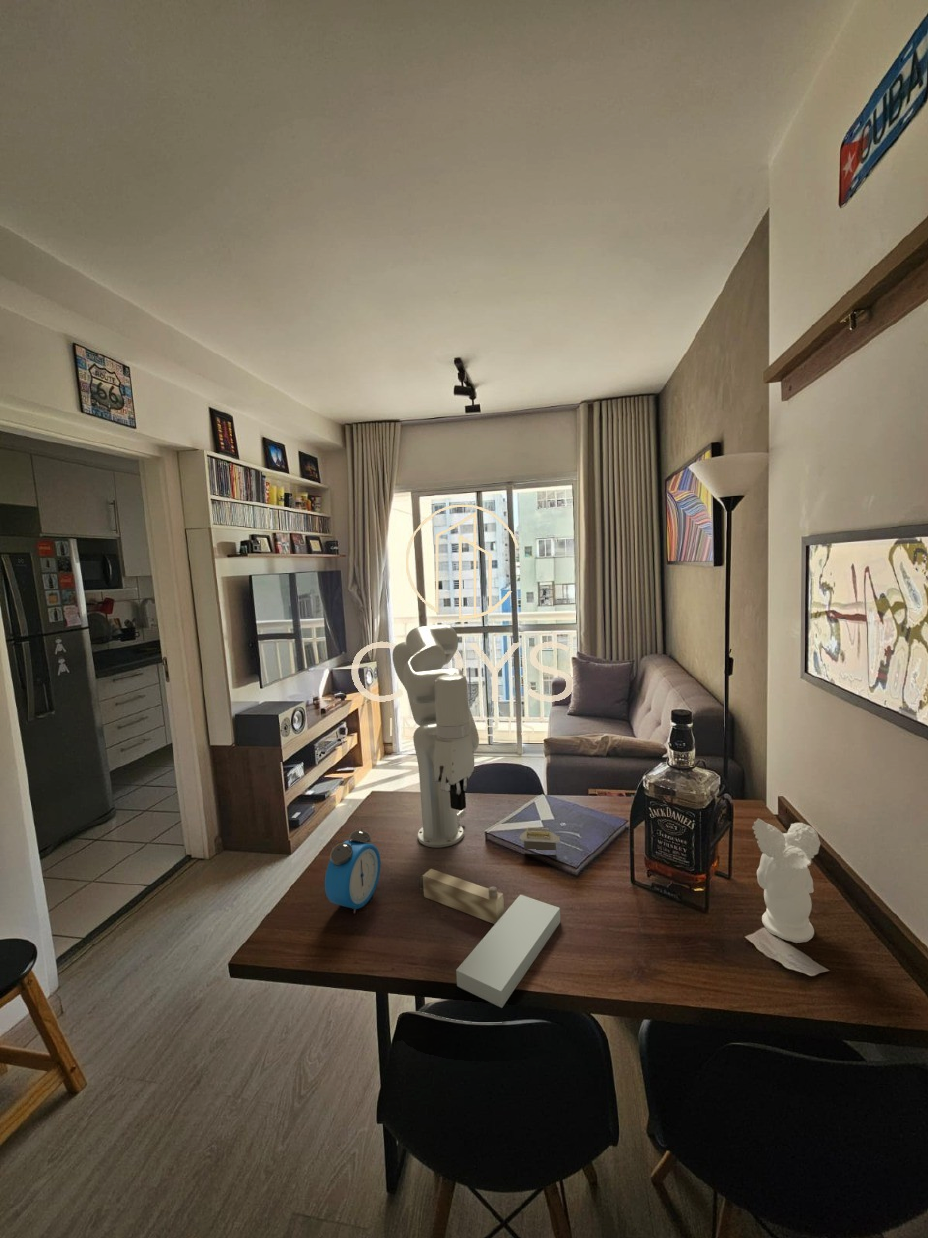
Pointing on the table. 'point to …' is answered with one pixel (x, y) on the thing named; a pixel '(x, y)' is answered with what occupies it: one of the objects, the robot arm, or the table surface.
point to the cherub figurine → (787, 878)
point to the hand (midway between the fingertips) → (458, 808)
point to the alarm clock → (353, 871)
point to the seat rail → (508, 950)
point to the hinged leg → (463, 895)
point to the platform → (539, 839)
